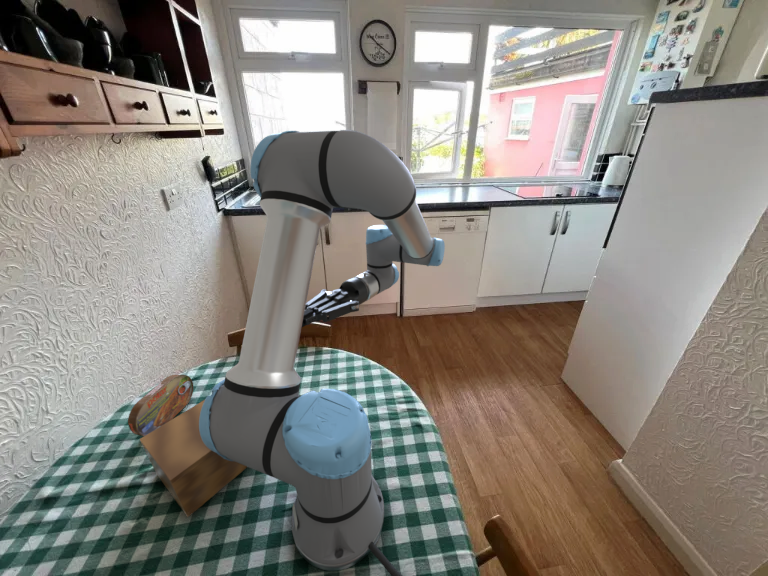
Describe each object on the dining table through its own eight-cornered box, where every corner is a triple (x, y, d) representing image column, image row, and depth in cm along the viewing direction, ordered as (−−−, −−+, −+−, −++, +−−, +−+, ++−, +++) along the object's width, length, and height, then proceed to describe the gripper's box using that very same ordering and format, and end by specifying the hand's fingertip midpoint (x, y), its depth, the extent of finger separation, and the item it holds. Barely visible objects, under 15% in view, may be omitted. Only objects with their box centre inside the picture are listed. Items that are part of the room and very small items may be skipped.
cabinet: (230, 423, 70) (220, 390, 66) (264, 453, 64) (254, 418, 59) (157, 474, 60) (139, 439, 56) (187, 517, 53) (170, 480, 49)
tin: (146, 445, 66) (131, 416, 62) (133, 443, 66) (118, 414, 63) (198, 394, 79) (188, 367, 75) (187, 392, 79) (177, 366, 76)
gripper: (340, 272, 88) (268, 303, 71) (377, 282, 81) (307, 320, 64) (342, 295, 91) (274, 331, 74) (377, 308, 84) (311, 350, 67)
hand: (289, 326), depth 69 cm, fingers closed
